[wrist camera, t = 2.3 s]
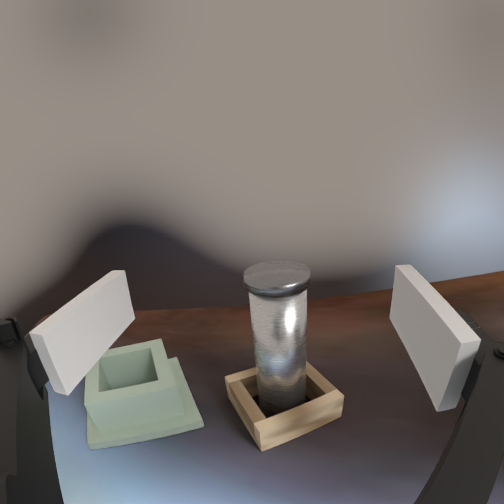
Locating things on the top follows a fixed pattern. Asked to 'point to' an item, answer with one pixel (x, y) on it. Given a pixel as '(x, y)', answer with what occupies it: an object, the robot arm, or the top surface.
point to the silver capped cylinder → (279, 332)
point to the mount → (289, 422)
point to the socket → (137, 397)
